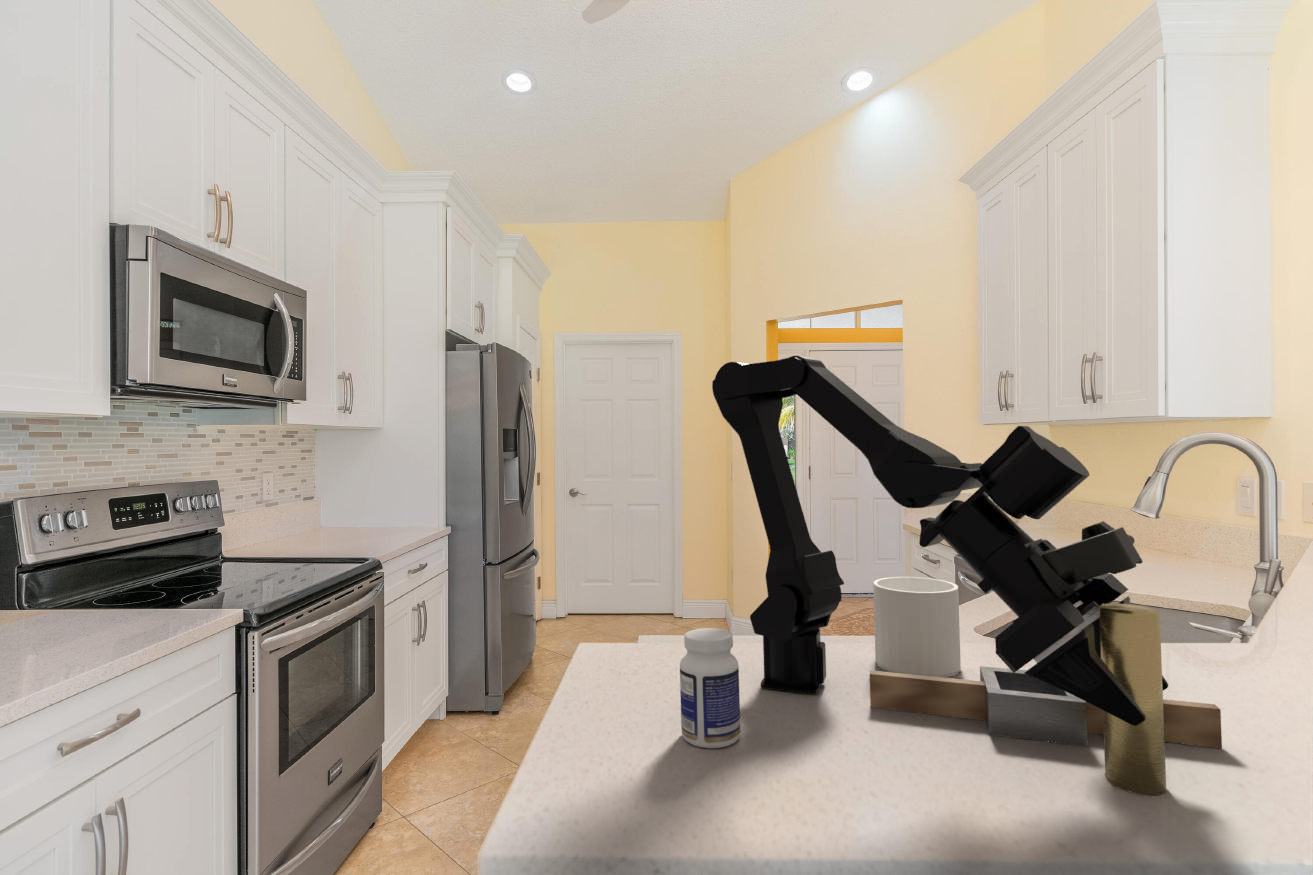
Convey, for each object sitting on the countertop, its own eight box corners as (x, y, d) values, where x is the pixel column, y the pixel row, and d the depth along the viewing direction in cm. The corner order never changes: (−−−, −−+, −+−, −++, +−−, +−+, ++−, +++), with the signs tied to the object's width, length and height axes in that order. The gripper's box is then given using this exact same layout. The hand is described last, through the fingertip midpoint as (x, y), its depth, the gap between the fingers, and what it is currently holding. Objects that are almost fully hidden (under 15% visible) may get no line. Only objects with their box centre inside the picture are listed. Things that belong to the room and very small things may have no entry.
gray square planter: (989, 734, 62) (988, 692, 62) (981, 703, 69) (979, 665, 69) (1087, 746, 59) (1086, 702, 59) (1068, 713, 66) (1066, 673, 67)
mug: (979, 674, 78) (976, 589, 78) (907, 683, 76) (904, 595, 76) (914, 645, 90) (912, 571, 91) (849, 652, 88) (847, 576, 88)
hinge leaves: (870, 706, 69) (869, 673, 69) (871, 702, 70) (870, 670, 70) (1222, 748, 58) (1220, 709, 58) (1216, 742, 59) (1214, 704, 59)
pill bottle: (746, 728, 64) (743, 627, 65) (733, 754, 59) (731, 644, 59) (690, 721, 66) (688, 623, 67) (673, 745, 61) (671, 639, 61)
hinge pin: (1113, 790, 52) (1106, 613, 52) (1099, 767, 55) (1093, 602, 56) (1174, 799, 50) (1167, 617, 50) (1156, 774, 54) (1149, 605, 54)
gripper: (1034, 500, 50) (1232, 680, 41) (1097, 487, 62) (1257, 623, 54) (934, 589, 55) (1091, 764, 47) (1011, 560, 68) (1144, 693, 60)
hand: (1153, 705), depth 52 cm, fingers open, 9 cm apart
